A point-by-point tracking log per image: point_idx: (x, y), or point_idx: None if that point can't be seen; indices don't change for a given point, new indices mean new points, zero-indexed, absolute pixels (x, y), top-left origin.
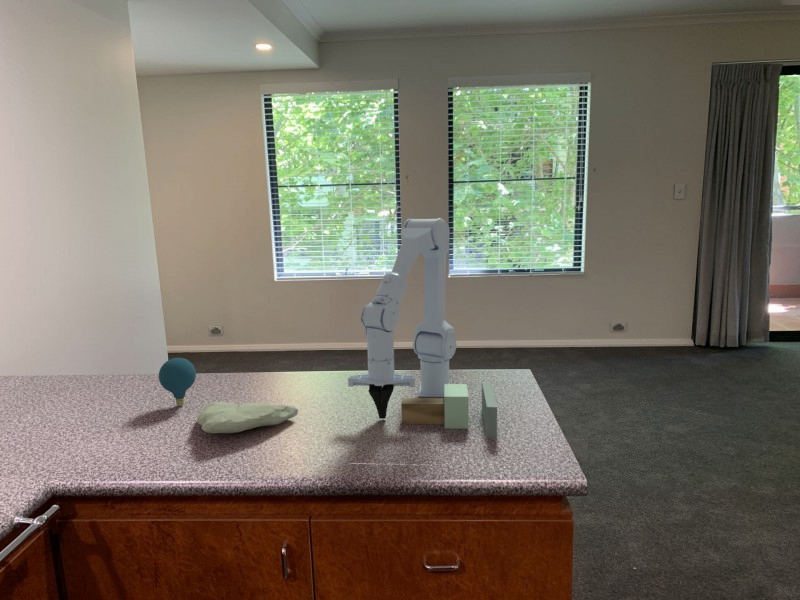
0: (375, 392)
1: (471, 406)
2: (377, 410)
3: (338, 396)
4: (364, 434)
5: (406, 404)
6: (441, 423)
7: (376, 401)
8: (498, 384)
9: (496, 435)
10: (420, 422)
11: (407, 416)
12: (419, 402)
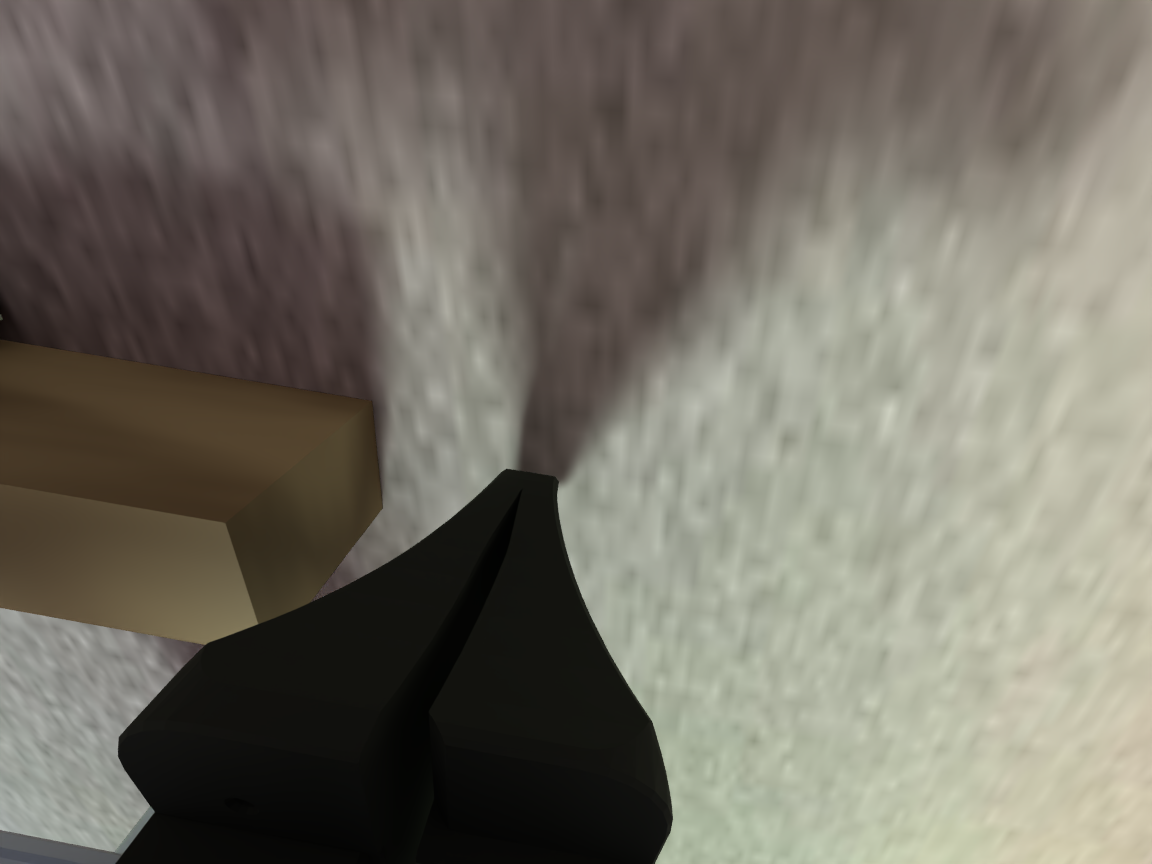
0: (516, 728)
1: None
2: (558, 520)
3: (810, 824)
4: (717, 206)
5: (169, 503)
6: (35, 353)
7: (547, 595)
8: (19, 771)
9: None
10: (201, 383)
11: (274, 427)
12: (21, 520)
